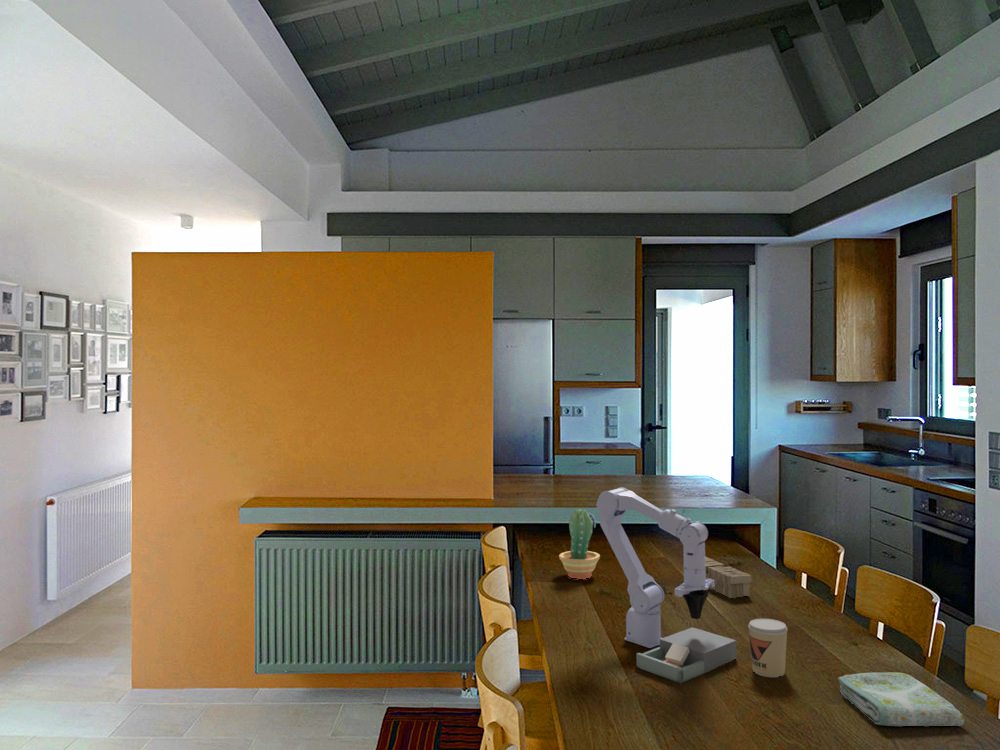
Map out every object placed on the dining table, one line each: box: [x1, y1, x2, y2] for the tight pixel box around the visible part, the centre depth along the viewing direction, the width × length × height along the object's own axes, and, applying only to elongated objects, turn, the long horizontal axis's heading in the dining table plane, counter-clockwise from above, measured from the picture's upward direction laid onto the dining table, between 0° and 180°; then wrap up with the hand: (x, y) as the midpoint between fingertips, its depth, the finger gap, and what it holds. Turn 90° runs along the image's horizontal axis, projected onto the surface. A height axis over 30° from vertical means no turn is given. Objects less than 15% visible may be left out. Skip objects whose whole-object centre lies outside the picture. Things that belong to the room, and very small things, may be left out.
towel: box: [837, 671, 965, 727], centre depth 170 cm, size 18×21×5 cm
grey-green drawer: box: [635, 646, 705, 684], centre depth 194 cm, size 14×10×4 cm
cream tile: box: [665, 644, 690, 665], centre depth 195 cm, size 4×4×2 cm
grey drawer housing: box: [659, 626, 737, 674], centre depth 202 cm, size 14×14×5 cm
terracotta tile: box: [664, 660, 681, 667], centre depth 193 cm, size 4×4×2 cm
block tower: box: [705, 555, 752, 599], centre depth 267 cm, size 8×8×29 cm
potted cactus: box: [558, 508, 601, 580], centre depth 285 cm, size 15×15×25 cm
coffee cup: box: [747, 618, 788, 678], centre depth 192 cm, size 9×9×12 cm
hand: (695, 617), depth 206 cm, fingers closed
